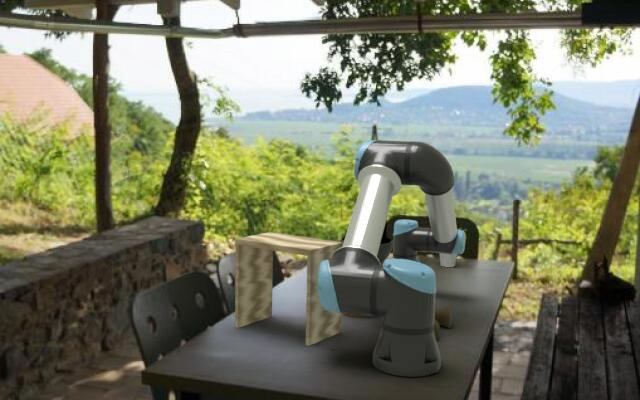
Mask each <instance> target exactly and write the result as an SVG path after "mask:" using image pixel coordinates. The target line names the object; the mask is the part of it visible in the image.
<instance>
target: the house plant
mask: <svg viewBox="0 0 640 400" xmlns="http://www.w3.org/2000/svg"><path fill="white" fill-rule="evenodd" d="M457 229H458V230H462V231H464V232H466V229H463V227H461V228H457ZM438 254H439V255H438V256H439V261H440V262H439V263H440V267H441V266H445V267H453V266H456V262H457V257H458V254H452V255H451V254H443V253H438Z"/></svg>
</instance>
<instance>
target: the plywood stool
mask: <svg viewBox="0 0 640 400" xmlns="http://www.w3.org/2000/svg"><path fill="white" fill-rule="evenodd" d="M342 246H343V242H340V241H336V240H328V239H323V238H321V239H320V238H314V237H307V236H301V235H300V236H299V235H293V234H285V233H280V232H271V231H270V232H269V231H268V232H264V233H259V234H254V235H253V234H252V235H249V236H243V237H242V236H241V237H237V238H235V269H234V270H235V275H234V277H235V283H234V284H235V286H234V290H235V292H234V293H235V294H234V295H235V296H234V298H235V299H234V301H235V303H234V306H235V307H234V309H235V310H234V311H235V312H234V318H235V319H234V327H235V328H237V329H239V328H242V327H246V326H249V325H250V324H253V323H256V322H259V321H262V320H265V319H268V318H271V317H273V272H274V270H273V269H274V268H273V266H274V265H273V262H274V261H273V260H274V251H275V252H281V253H288V254H294V255H300V256H306V257H307V258H306V261H307V262H306V264H307V265H306V266H307V267H306V306H305V307H306V308H305V309H306V310H305V313H306V314H305V315H306V316H305V346H309V347H310V346H311V345H314V344H316V343H320V342H322V341H323V340H326V339H329V338H331V337H333V336H335V335H338V334H340V333H342V314H343V313H341V314H339V313H338V312H332V311H327V310H325V309H324V308H323V307H322V306H321V303H320V300H319V295H318V271H319V266H320V264H321V262H322V261H324V260H329V261H331V260H332V256H333V254H334V252H335V251H336V250H337V249H339V248H341V247H342Z"/></svg>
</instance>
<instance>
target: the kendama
mask: <svg viewBox="0 0 640 400" xmlns="http://www.w3.org/2000/svg"><path fill="white" fill-rule="evenodd" d="M452 318H453V310H452V307H450V306H449V307H446V308H443V309H437V308H435V319H434V335H435V339H436V340H437V339H438V337H439V335H440V328H441V327H440V325H441V326H443V327H445V328H446V327H448V328H447V329H450V328H451V326H452ZM449 327H450V328H449Z"/></svg>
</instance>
